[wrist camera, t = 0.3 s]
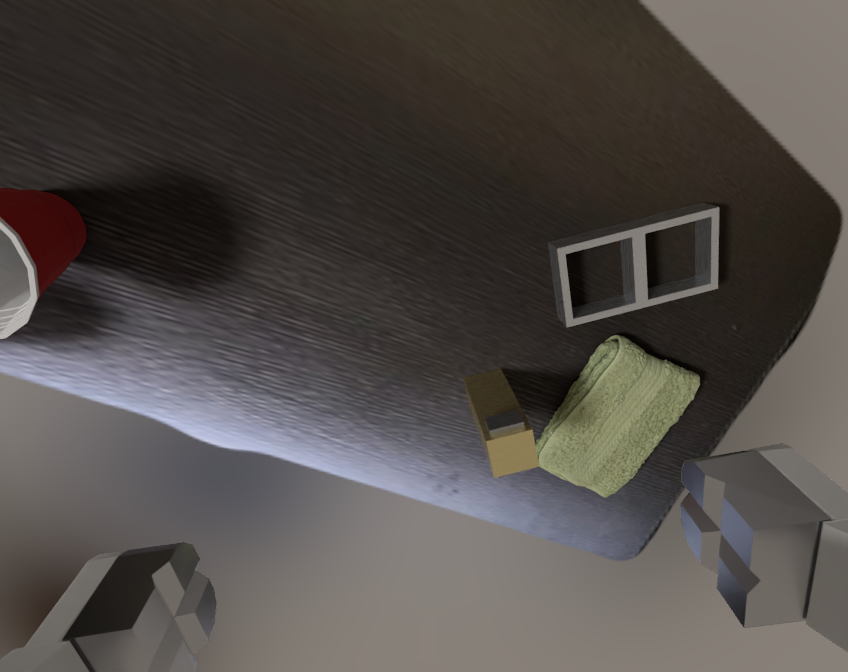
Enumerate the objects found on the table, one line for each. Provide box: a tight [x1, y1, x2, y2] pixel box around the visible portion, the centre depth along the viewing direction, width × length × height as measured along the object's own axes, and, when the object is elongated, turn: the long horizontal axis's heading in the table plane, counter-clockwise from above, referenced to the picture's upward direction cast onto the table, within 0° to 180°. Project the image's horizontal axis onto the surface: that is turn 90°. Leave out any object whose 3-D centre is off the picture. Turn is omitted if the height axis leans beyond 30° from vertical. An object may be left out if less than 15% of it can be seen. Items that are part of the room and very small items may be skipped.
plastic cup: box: [0, 188, 86, 339], centre depth 37 cm, size 11×11×12 cm
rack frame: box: [548, 202, 719, 327], centre depth 48 cm, size 8×15×2 cm, turn 103°
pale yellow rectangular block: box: [464, 368, 539, 478], centre depth 48 cm, size 5×4×11 cm
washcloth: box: [535, 335, 700, 498], centre depth 55 cm, size 13×18×3 cm
